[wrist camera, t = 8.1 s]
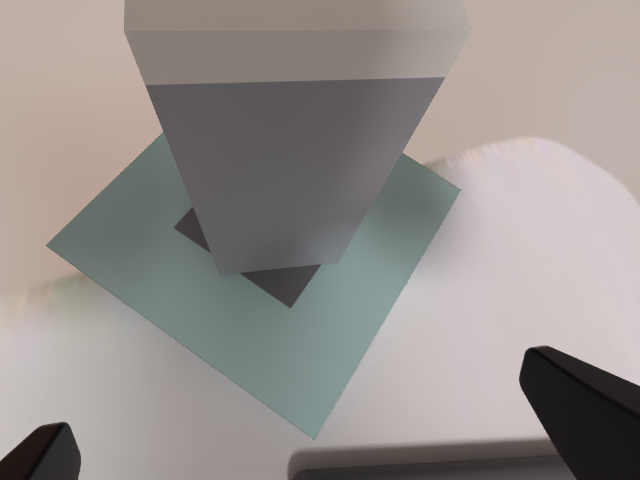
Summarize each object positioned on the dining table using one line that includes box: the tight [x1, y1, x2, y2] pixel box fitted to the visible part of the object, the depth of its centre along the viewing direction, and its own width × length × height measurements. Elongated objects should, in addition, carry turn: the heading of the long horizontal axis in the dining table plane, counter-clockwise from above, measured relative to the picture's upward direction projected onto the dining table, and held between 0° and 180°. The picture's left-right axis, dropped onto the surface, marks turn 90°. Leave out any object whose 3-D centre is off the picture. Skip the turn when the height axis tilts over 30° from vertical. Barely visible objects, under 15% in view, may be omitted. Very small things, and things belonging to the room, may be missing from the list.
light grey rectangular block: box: [124, 0, 473, 275], centre depth 12 cm, size 5×5×12 cm
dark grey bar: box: [293, 455, 576, 480], centre depth 16 cm, size 15×1×1 cm, turn 92°
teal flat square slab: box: [46, 132, 461, 440], centre depth 18 cm, size 13×13×1 cm
